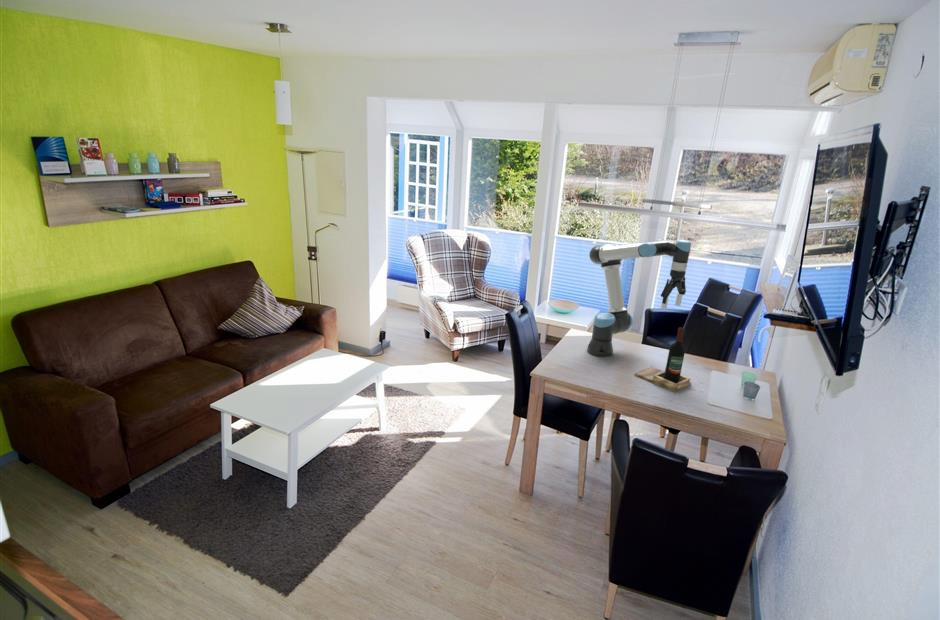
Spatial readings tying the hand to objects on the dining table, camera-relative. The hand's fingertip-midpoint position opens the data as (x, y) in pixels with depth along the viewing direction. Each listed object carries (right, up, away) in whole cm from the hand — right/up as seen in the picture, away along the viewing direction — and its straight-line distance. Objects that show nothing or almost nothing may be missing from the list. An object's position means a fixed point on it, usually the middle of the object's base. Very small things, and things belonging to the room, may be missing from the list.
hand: (670, 307), depth 275 cm
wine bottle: (-3, -39, -7) cm, 40 cm away
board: (-6, -39, -3) cm, 40 cm away
